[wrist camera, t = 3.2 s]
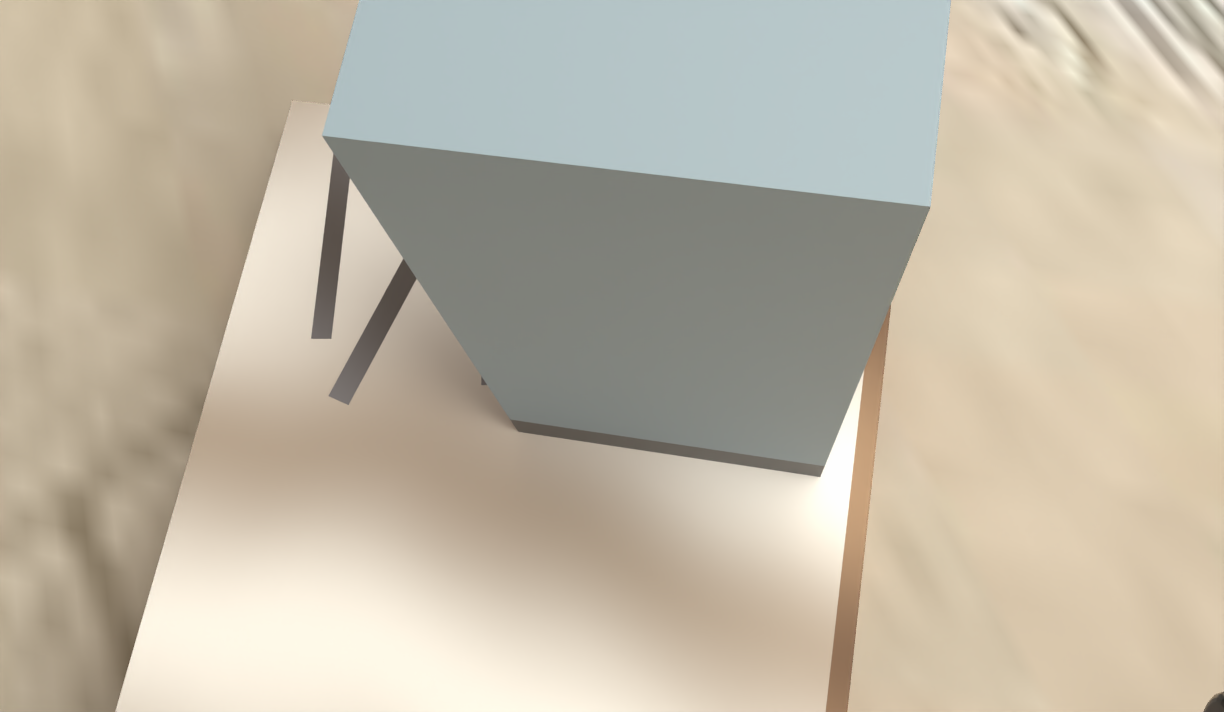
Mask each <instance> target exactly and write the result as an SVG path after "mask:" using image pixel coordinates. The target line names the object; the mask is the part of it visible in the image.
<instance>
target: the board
mask: <svg viewBox="0 0 1224 712" xmlns="http://www.w3.org/2000/svg"><path fill="white" fill-rule="evenodd" d="M329 108H330V104H324V103H315V102H306V101H297V100H292V103H291V106H290V109H289V113H288V116H287V120H286V123H285V127H284V130H283V134H282V137H281V141H280V144H279V147H278V151H277V154H276V158H275V161H274V165H273V168H272V172H271V175H270V179H269V182H268V186H267V189H266V192H265V196H264V199H263V203H262V206H261V210H260V213H259V217H258V220H257V224H256V227H255V230H254V234H253V237H252V241H251V244H250V248H249V251H248V255H247V258H246V262H245V265H244V268H243V272H242V275H241V279H240V282H239V286H238V289H237V293H236V296H235V300H234V303H233V306H232V310H231V313H230V317H229V320H228V324H227V327H226V331H225V334H224V338H223V341H222V344H221V348H220V351H219V355H218V358H217V362H216V365H215V369H214V372H213V376H212V379H211V382H210V386H209V389H208V393H207V396H206V400H205V403H204V407H203V410H202V414H201V417H200V420H199V424H198V427H197V431H196V434H195V438H194V441H193V445H192V448H191V452H190V455H189V458H188V462H187V465H186V469H185V472H184V476H183V479H182V483H181V486H180V490H179V493H178V496H177V500H176V503H175V507H174V510H173V514H172V517H171V521H170V524H169V528H168V531H167V535H166V538H165V541H164V545H163V548H162V552H161V555H160V559H159V562H158V566H157V569H156V573H155V576H154V579H153V583H152V586H151V590H150V593H149V597H148V600H147V604H146V607H145V611H144V614H143V617H142V621H141V624H140V628H139V631H138V635H137V638H136V642H135V645H134V649H133V652H132V655H131V659H130V662H129V666H128V669H127V673H126V676H125V680H124V683H123V687H122V690H121V693H120V697H119V700H118V704H117V707H116V711H115V712H847V709H848V700H849V690H850V681H851V672H852V662H853V653H854V644H855V635H856V625H857V616H858V607H859V597H860V588H861V579H862V569H863V560H864V551H865V542H866V532H867V523H868V514H869V504H870V495H871V486H872V476H873V467H874V458H875V448H876V439H877V430H878V421H879V411H880V402H881V393H882V383H883V374H884V365H885V355H886V346H887V337H888V328H889V318H890V309H891V305H890V307H889V310H888V312H887V315H886V317H885V320H884V322H883V324H882V327H881V329H880V332H879V334H878V337H877V339H876V342H875V344H874V347H873V349H872V351H871V354H870V356H869V359H868V361H867V364H866V366H865V369H864V371H863V374H862V376H861V378H860V381H859V383H858V386H857V388H856V391H855V393H854V396H853V398H852V401H851V403H850V406H849V408H848V410H847V413H846V415H845V418H844V420H843V423H842V425H841V428H840V430H839V433H838V435H837V437H836V440H835V442H834V445H833V447H832V450H831V452H830V455H829V457H828V460H827V462H826V465H825V467H824V469H823V472H822V474H821V477H816V476H809V475H803V474H796V473H789V472H783V471H776V470H769V469H763V468H756V467H749V466H743V465H736V464H729V463H723V462H716V461H709V460H703V459H696V458H689V457H683V456H676V455H669V454H663V453H656V452H649V451H643V450H636V449H629V448H623V447H616V446H609V445H603V444H596V443H589V442H583V441H576V440H569V439H563V438H556V437H549V436H543V435H536V434H529V433H523V432H518V431H517V429H516V428H515V426H514V425H513V423H512V422H511V420H510V419H509V417H508V416H507V414H506V413H505V411H504V410H503V408H502V407H501V405H500V403H499V402H498V400H497V399H496V397H495V396H494V394H493V393H492V391H491V390H490V388H489V387H488V385H487V384H486V382H485V381H484V379H483V378H482V376H481V375H480V373H479V372H478V370H477V369H476V367H475V366H474V364H473V363H472V361H471V360H470V358H469V357H468V355H467V354H466V352H465V351H464V349H463V348H462V346H461V345H460V343H459V342H458V340H457V339H456V337H455V336H454V334H453V333H452V331H451V330H450V328H449V327H448V325H447V324H446V322H445V321H444V319H443V318H442V316H441V315H440V313H439V312H438V310H437V309H436V307H435V305H434V304H433V302H432V301H431V299H430V298H429V296H428V295H427V293H426V292H425V290H424V289H423V287H422V286H421V284H420V283H419V281H418V280H417V278H416V277H415V275H414V274H413V272H412V271H411V269H410V268H409V266H408V265H407V263H406V262H405V260H404V259H403V257H402V256H401V254H400V253H399V251H398V250H397V248H396V247H395V245H394V244H393V242H392V241H391V239H390V238H389V236H388V235H387V233H386V232H385V230H384V229H383V227H382V226H381V224H380V223H379V221H378V220H377V218H376V217H375V215H374V214H373V212H372V211H371V209H370V207H369V206H368V204H367V203H366V201H365V200H364V198H363V197H362V195H361V194H360V192H359V191H358V189H357V188H356V186H355V185H354V183H353V182H352V180H351V179H350V177H349V176H348V174H347V173H346V171H345V170H344V168H343V167H342V165H341V164H340V162H339V161H338V159H337V158H336V156H335V155H334V153H333V152H332V150H331V149H330V147H329V146H328V144H327V143H326V141H325V140H324V138H323V137H322V133H323V130H324V126H325V122H326V119H327V115H328V112H329Z"/></svg>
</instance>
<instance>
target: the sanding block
mask: <svg viewBox="0 0 1224 712" xmlns="http://www.w3.org/2000/svg"><path fill="white" fill-rule="evenodd" d="M950 4H951V0H359V4H358V7H357V11H356V15H355V18H354V22H353V25H352V29H351V33H350V36H349V40H348V43H347V47H346V51H345V54H344V58H343V61H342V65H341V69H340V72H339V76H338V79H337V83H336V86H335V90H334V94H333V97H332V101H331V104H330V108H329V112H328V115H327V119H326V122H325V126H324V130H323V133H322V137H323V138H324V140H325V141H326V143H327V144H328V146H329V147H330V149H331V150H332V152H333V153H334V155H335V156H336V158H337V159H338V161H339V162H340V164H341V165H342V167H343V168H344V170H345V171H346V173H347V174H348V176H349V177H350V179H351V180H352V182H353V183H354V185H355V186H356V188H357V189H358V191H359V192H360V194H361V195H362V197H363V198H364V200H365V201H366V203H367V204H368V206H369V207H370V209H371V211H372V212H373V214H374V215H375V217H376V218H377V220H378V221H379V223H380V224H381V226H382V227H383V229H384V230H385V232H386V233H387V235H388V236H389V238H390V239H391V241H392V242H393V244H394V245H395V247H396V248H397V250H398V251H399V253H400V254H401V256H402V257H403V259H404V260H405V262H406V263H407V265H408V266H409V268H410V269H411V271H412V272H413V274H414V275H415V277H416V278H417V280H418V281H419V283H420V284H421V286H422V287H423V289H424V290H425V292H426V293H427V295H428V296H429V298H430V299H431V301H432V302H433V304H434V305H435V307H436V309H437V310H438V312H439V313H440V315H441V316H442V318H443V319H444V321H445V322H446V324H447V325H448V327H449V328H450V330H451V331H452V333H453V334H454V336H455V337H456V339H457V340H458V342H459V343H460V345H461V346H462V348H463V349H464V351H465V352H466V354H467V355H468V357H469V358H470V360H471V361H472V363H473V364H474V366H475V367H476V369H477V370H478V372H479V373H480V375H481V376H482V378H483V379H484V381H485V382H486V384H487V385H488V387H489V388H490V390H491V391H492V393H493V394H494V396H495V397H496V399H497V400H498V402H499V403H500V405H501V407H502V408H503V410H504V411H505V413H506V414H507V416H508V417H509V419H510V420H511V422H512V423H513V425H514V426H515V428H516V429H517V431H518V432H523V433H529V434H536V435H543V436H549V437H556V438H563V439H569V440H576V441H583V442H589V443H596V444H603V445H609V446H616V447H623V448H629V449H636V450H643V451H649V452H656V453H663V454H669V455H676V456H683V457H689V458H696V459H703V460H709V461H716V462H723V463H729V464H736V465H743V466H749V467H756V468H763V469H769V470H776V471H783V472H789V473H796V474H803V475H809V476H816V477H821V474H822V472H823V469H824V467H825V465H826V462H827V460H828V457H829V455H830V452H831V450H832V447H833V445H834V442H835V440H836V437H837V435H838V433H839V430H840V428H841V425H842V423H843V420H844V418H845V415H846V413H847V410H848V408H849V406H850V403H851V401H852V398H853V396H854V393H855V391H856V388H857V386H858V383H859V381H860V378H861V376H862V374H863V371H864V369H865V366H866V364H867V361H868V359H869V356H870V354H871V351H872V349H873V347H874V344H875V342H876V339H877V337H878V334H879V332H880V329H881V327H882V324H883V322H884V320H885V317H886V315H887V312H888V310H889V307H890V305H891V302H892V300H893V297H894V295H895V292H896V290H897V288H898V285H899V283H900V280H901V278H902V275H903V273H904V270H905V268H906V265H907V263H908V261H909V258H910V256H911V253H912V251H913V248H914V246H915V243H916V241H917V238H918V236H919V234H920V231H921V229H922V226H923V224H924V221H925V219H926V216H927V214H928V211H929V209H930V206H931V196H932V186H933V176H934V165H935V155H936V145H937V135H938V125H939V115H940V105H941V95H942V85H943V75H944V65H945V55H946V45H947V35H948V24H949V14H950Z"/></svg>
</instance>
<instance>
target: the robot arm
mask: <svg viewBox="0 0 1224 712" xmlns="http://www.w3.org/2000/svg"><path fill="white" fill-rule="evenodd" d="M1204 712H1224V692H1221V693H1218V694H1216V695H1214V696H1213V697H1212V698H1211V700H1210V701H1209V702H1208V704H1207V705H1206V707H1205V709H1204Z"/></svg>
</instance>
